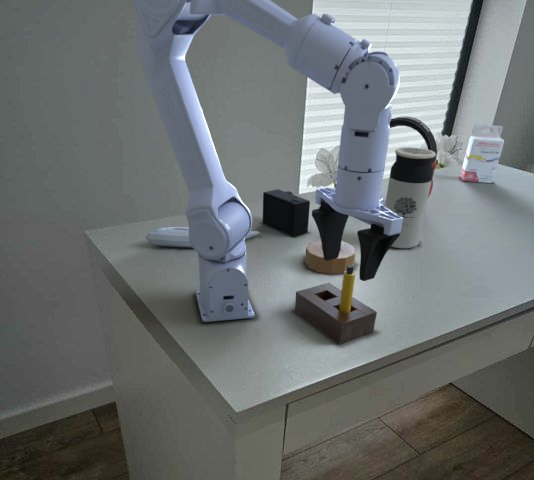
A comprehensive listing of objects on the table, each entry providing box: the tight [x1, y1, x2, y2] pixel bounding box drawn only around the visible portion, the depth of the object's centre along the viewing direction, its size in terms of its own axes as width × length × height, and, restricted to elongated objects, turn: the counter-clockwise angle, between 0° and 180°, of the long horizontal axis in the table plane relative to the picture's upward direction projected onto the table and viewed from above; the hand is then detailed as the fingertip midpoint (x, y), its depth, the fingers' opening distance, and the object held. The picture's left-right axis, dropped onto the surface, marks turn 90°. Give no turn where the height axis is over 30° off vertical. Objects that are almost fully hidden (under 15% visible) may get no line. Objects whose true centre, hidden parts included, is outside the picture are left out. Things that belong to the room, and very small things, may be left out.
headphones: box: [389, 115, 438, 199], centre depth 119 cm, size 18×10×20 cm, turn 58°
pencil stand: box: [294, 282, 378, 345], centre depth 74 cm, size 6×11×4 cm, turn 33°
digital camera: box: [262, 188, 311, 238], centre depth 106 cm, size 10×5×7 cm, turn 40°
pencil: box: [339, 266, 356, 314], centre depth 71 cm, size 2×2×10 cm
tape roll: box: [304, 239, 357, 275], centre depth 92 cm, size 9×9×3 cm
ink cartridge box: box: [459, 124, 505, 184], centre depth 142 cm, size 9×5×15 cm, turn 82°
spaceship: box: [144, 226, 260, 248], centre depth 98 cm, size 23×7×4 cm, turn 107°
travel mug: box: [384, 146, 436, 249], centre depth 98 cm, size 8×8×18 cm
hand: (348, 268), depth 68 cm, fingers open, 7 cm apart
